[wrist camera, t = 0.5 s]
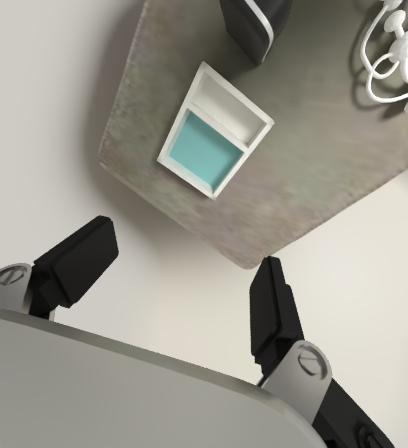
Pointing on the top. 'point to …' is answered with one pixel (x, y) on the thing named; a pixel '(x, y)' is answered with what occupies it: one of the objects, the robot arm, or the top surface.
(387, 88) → the top surface
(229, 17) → the battery charger
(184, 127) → the divided compartment box
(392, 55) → the tangled rod sculpture
